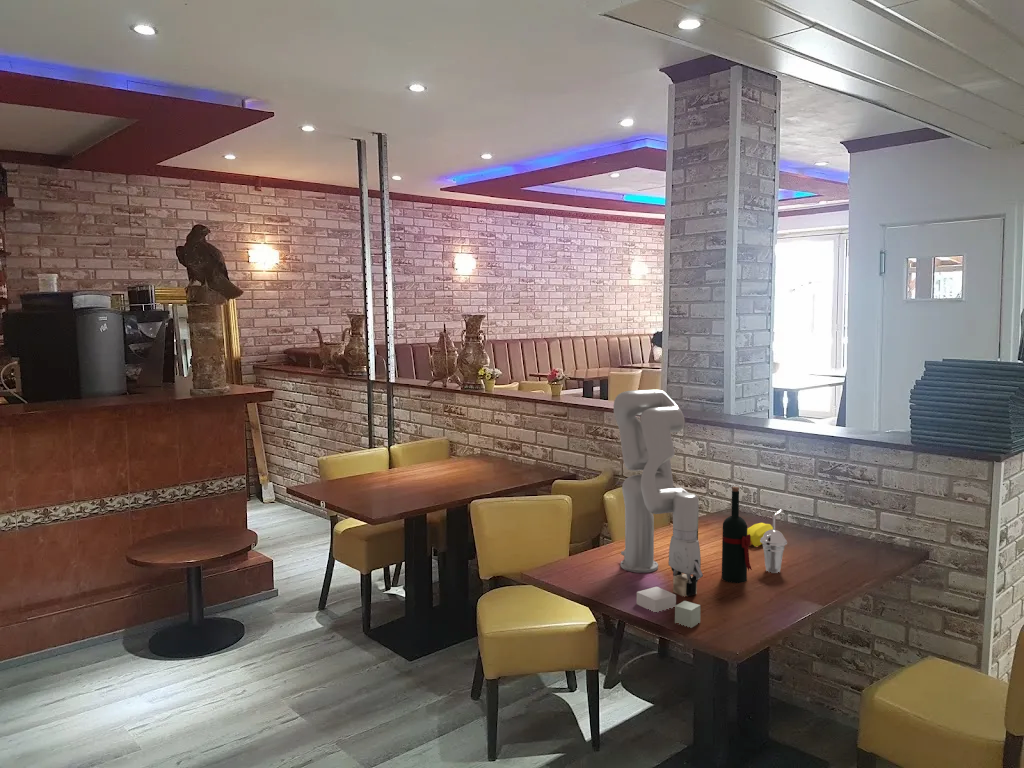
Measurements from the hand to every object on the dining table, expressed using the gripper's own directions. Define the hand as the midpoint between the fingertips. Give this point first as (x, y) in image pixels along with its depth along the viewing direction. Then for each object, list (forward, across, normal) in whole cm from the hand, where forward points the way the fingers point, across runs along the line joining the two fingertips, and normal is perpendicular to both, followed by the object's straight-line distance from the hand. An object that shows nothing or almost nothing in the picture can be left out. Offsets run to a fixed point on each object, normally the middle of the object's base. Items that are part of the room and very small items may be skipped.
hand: (684, 591), depth 228 cm
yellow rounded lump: (+1, -28, +58) cm, 64 cm away
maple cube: (+1, 0, 0) cm, 1 cm away
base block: (+1, +4, -14) cm, 15 cm away
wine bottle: (+1, -1, +22) cm, 22 cm away
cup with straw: (+1, -2, +39) cm, 39 cm away
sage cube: (+1, +18, -14) cm, 23 cm away
